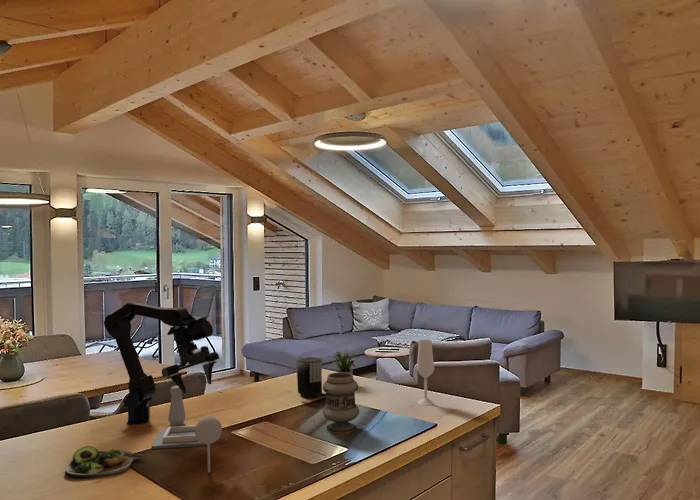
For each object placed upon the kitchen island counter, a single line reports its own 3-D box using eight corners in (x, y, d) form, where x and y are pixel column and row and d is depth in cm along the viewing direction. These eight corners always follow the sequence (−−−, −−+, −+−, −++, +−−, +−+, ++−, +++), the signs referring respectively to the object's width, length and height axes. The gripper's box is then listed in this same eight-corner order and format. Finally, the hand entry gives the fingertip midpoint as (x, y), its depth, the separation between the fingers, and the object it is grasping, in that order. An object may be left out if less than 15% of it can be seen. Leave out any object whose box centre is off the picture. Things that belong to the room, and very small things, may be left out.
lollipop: (198, 467, 155) (197, 413, 155) (224, 466, 156) (223, 412, 155) (193, 478, 148) (192, 421, 148) (220, 476, 148) (219, 420, 148)
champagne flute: (437, 401, 216) (436, 339, 216) (430, 406, 211) (429, 342, 211) (421, 399, 220) (420, 338, 220) (414, 403, 214) (413, 341, 214)
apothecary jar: (315, 429, 186) (314, 375, 186) (340, 420, 195) (340, 368, 195) (341, 437, 178) (341, 380, 178) (366, 428, 187) (366, 374, 186)
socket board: (151, 448, 170) (151, 441, 170) (161, 431, 185) (161, 424, 185) (205, 445, 172) (205, 437, 172) (210, 428, 188) (210, 421, 188)
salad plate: (146, 451, 168) (146, 436, 168) (138, 475, 151) (138, 458, 151) (77, 457, 164) (76, 442, 164) (60, 482, 147) (59, 465, 147)
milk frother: (303, 392, 233) (302, 356, 233) (340, 393, 231) (340, 357, 231) (294, 401, 219) (294, 363, 219) (334, 402, 217) (334, 364, 217)
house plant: (322, 388, 238) (322, 350, 238) (329, 380, 252) (328, 344, 252) (355, 389, 236) (355, 351, 236) (360, 381, 250) (360, 345, 249)
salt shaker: (180, 427, 190) (179, 389, 189) (165, 426, 191) (164, 388, 191) (188, 422, 195) (188, 384, 195) (173, 421, 196) (173, 384, 196)
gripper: (167, 349, 178) (180, 397, 177) (219, 333, 191) (232, 378, 189) (155, 353, 187) (168, 398, 186) (206, 337, 199) (218, 380, 198)
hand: (197, 388), depth 189 cm, fingers open, 9 cm apart
